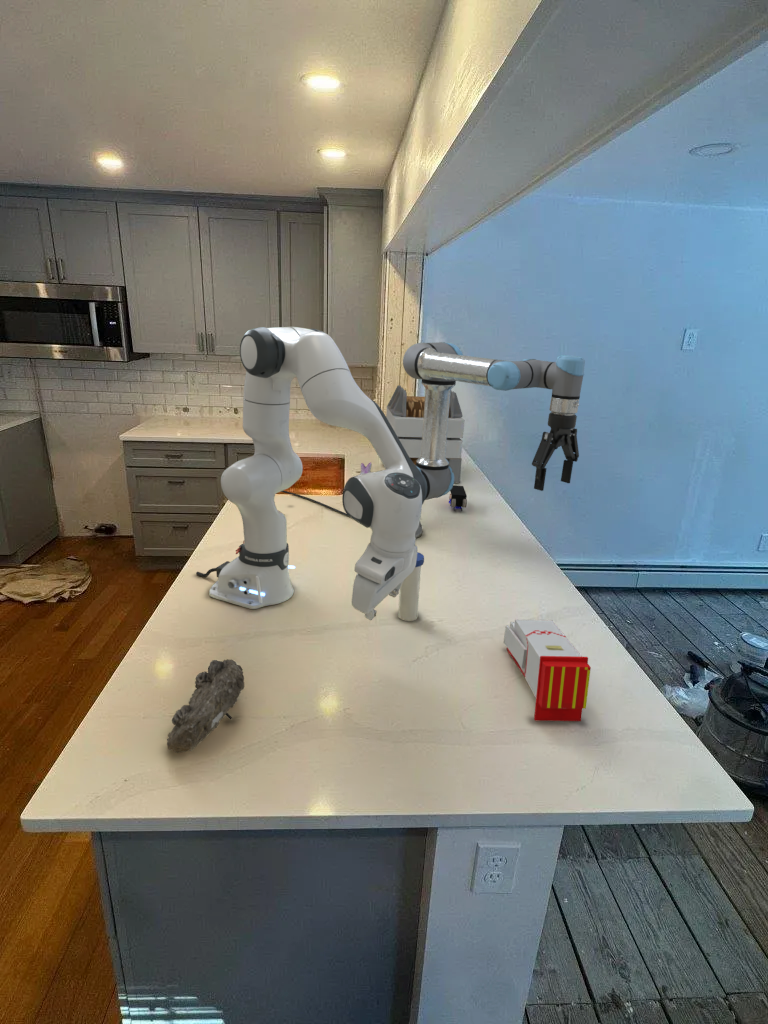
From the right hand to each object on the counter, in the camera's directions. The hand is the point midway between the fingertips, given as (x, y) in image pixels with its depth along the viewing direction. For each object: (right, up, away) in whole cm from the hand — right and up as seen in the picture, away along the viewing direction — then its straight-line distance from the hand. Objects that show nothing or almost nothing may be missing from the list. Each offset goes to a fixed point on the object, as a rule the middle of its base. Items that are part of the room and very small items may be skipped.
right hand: (552, 485), depth 166 cm
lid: (-42, -19, -24) cm, 52 cm away
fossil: (-82, -47, -57) cm, 110 cm away
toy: (-16, -44, -42) cm, 63 cm away
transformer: (-32, +11, +109) cm, 115 cm away
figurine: (-56, -2, +70) cm, 90 cm away
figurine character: (-20, -6, +64) cm, 67 cm away
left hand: (-50, -27, -46) cm, 73 cm away
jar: (-43, -35, -19) cm, 58 cm away
